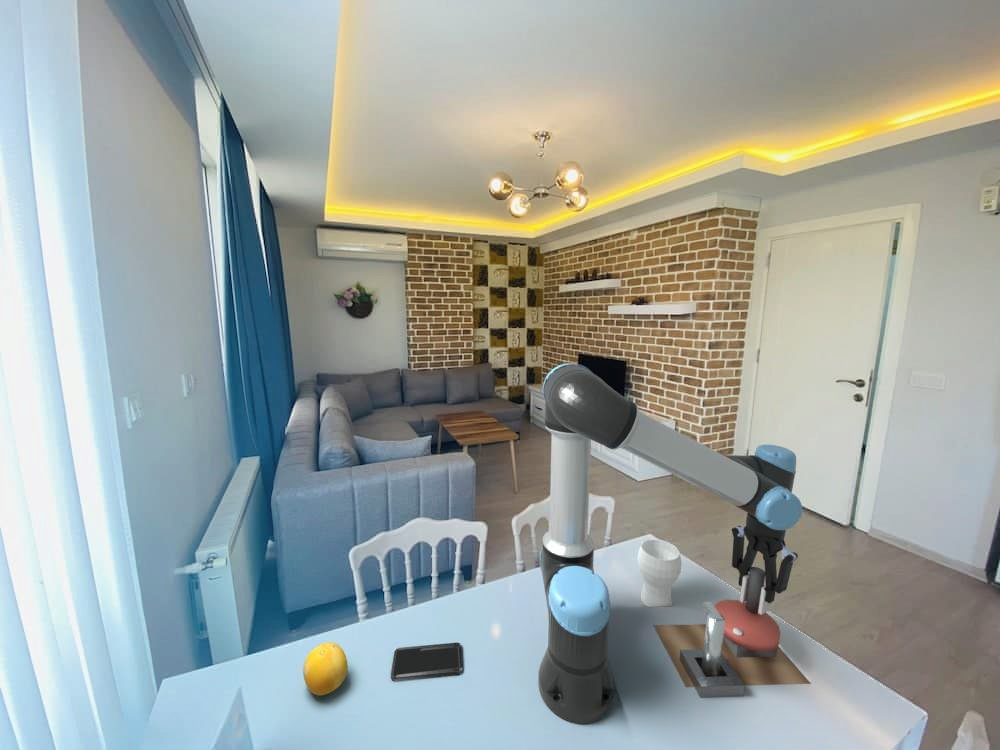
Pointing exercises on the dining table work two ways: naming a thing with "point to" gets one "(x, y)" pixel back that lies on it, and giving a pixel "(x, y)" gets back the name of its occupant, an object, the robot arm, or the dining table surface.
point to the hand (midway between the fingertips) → (753, 605)
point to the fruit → (325, 668)
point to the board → (731, 657)
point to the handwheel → (750, 618)
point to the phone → (427, 662)
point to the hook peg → (712, 641)
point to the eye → (711, 686)
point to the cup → (658, 571)
